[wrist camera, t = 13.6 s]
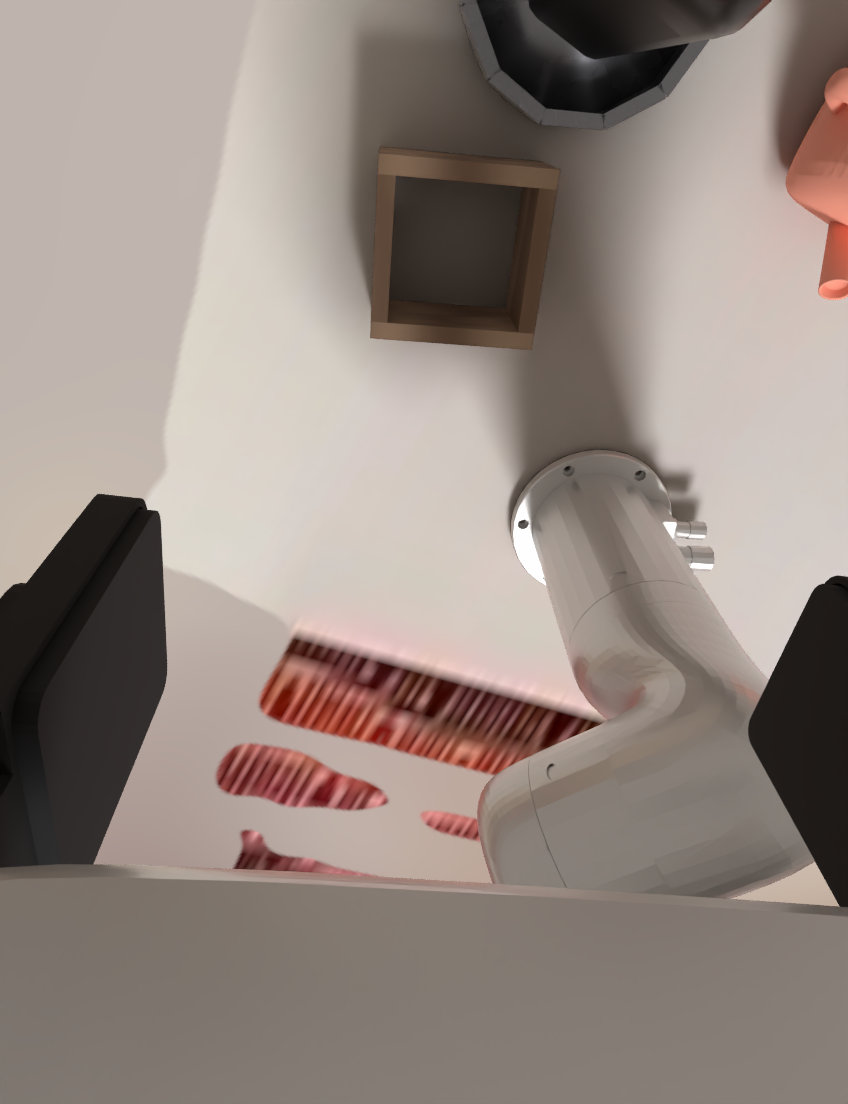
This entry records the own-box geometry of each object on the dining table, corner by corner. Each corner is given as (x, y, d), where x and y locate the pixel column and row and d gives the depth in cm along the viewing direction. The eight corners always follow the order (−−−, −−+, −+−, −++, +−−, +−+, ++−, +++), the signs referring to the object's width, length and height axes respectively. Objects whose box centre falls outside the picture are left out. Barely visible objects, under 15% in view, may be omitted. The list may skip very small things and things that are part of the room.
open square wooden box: (541, 161, 46) (560, 169, 41) (517, 324, 51) (531, 349, 46) (380, 146, 45) (378, 153, 40) (372, 313, 50) (370, 338, 45)
